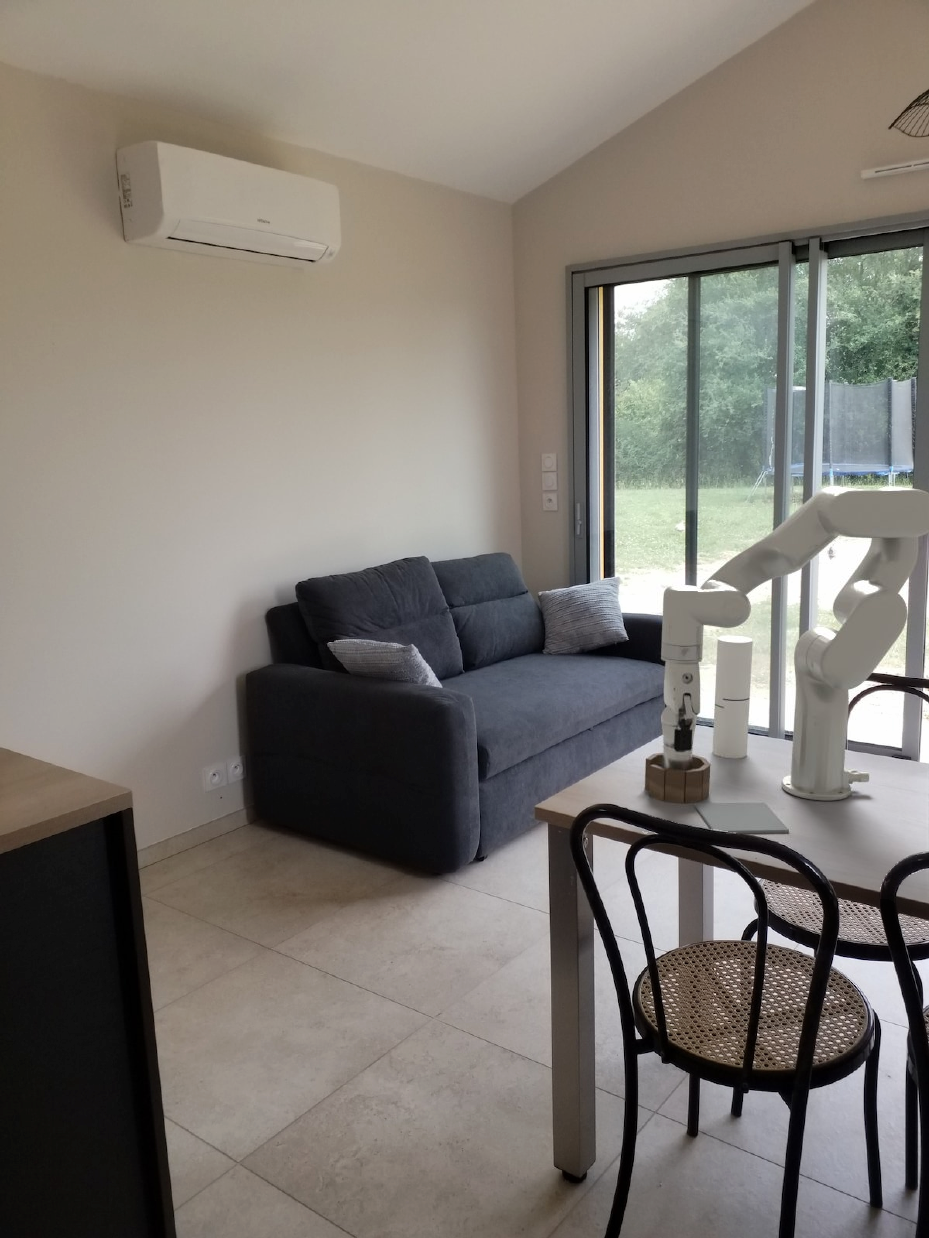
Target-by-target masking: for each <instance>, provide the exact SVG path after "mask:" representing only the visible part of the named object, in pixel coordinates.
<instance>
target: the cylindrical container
mask: <svg viewBox="0 0 929 1238" xmlns="http://www.w3.org/2000/svg"><path fill="white" fill-rule="evenodd" d="M753 642H754V640H753V638H751V637H748V636H742V635H741V636H740V635H721V636H719V637H717V647H716V666H715V667H716V669H715V689H714V708H713V710H714V713H713V729H712V730H713V731H712V732H713V733H712V734H713V736H712V754H713V753H714V754H713V755H715V756H717V757H719V756H721V757H720V758H725V759H742V758H745V757H747V755H748V754H747V753H748V742H749V741H748V738H749V720H750V719H749V718H750V702H751V701H750V699H751V698H750V697H751V683H752V681H751V679H752V661H753Z"/></svg>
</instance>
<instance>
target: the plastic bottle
mask: <svg viewBox="0 0 929 1238" xmlns="http://www.w3.org/2000/svg"><path fill="white" fill-rule="evenodd" d="M679 712H680V713H684V710H679ZM660 716H661V717H660V721H661V729H662V741H663V742H662V743H663V746H662V748H663V749H662V750H663V751H662V753H663V759H662V767H663V768H666V769H672V770H684V771H685V770H692V769H693V755H694V754H693V749H694V746H693V745H694V738H695V737H694V736H695V732H696V726H697V715H695V714H694V713H693V720H692V721H693V723H692V749H691V750H686V751H676V750H675V749H674V731H675V729H676V714H674V713H673V712H672V711H671V709H670V707H669V705H668V706H667V705H666V707H665V708H664V709H663V710H662V713H661V715H660ZM682 719H684V717H680V723H681V720H682ZM692 754H693V755H692Z"/></svg>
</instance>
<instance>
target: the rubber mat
mask: <svg viewBox="0 0 929 1238" xmlns="http://www.w3.org/2000/svg"><path fill="white" fill-rule="evenodd" d="M693 806H694V808H695V809H696V811H697V812H698V813H699V815H700V816H701V818H702V819H703V820H704V822H705V823H706V825H707V826H708V827H709V829H710V828H712V829H718V830H722V831H728V832H737V833H736V834H775V833H776V834H781V833H782V834H784V833H788V834H789V833H790V829H789V828H788V827H787V826H786V825H785V823H783V821H782V820H781V819H780V818H779V817H778V816H777V815H776V814H775V813H774V811H773V810H772V809H771V808H770V807H769V806H768V805H767V804H766V802H713V803H712V802H708V803H707V802H704V803H703V802H702V803H700V802H699V803H697V802H694V805H693Z"/></svg>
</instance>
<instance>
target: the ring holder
mask: <svg viewBox="0 0 929 1238" xmlns="http://www.w3.org/2000/svg"><path fill="white" fill-rule="evenodd" d="M692 755H693V769H692V770H685V771H684V770H672V769H666V768H663V767H662V759H663V752H658V753H653V754H651V755H650V756H648V757H647V758H645V769H644V770H645V771H644V772H645V774H644V776H645V777H644V789H645V790H648V796H649V797H651V798H654V797H655V799H656V798H657V800H659V801H662V802H666V801H667V802H668V803H677V804H689V803H697V802H701V801H704V800H705V799H706V798H708V797H709V795H710V784H711V783H710V781H711V779H710V778H711V763H710V762H709V761H708V759H707V758H705V757H703V756H699V755H697V754H693V753H692ZM667 802H666V803H667Z"/></svg>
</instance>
